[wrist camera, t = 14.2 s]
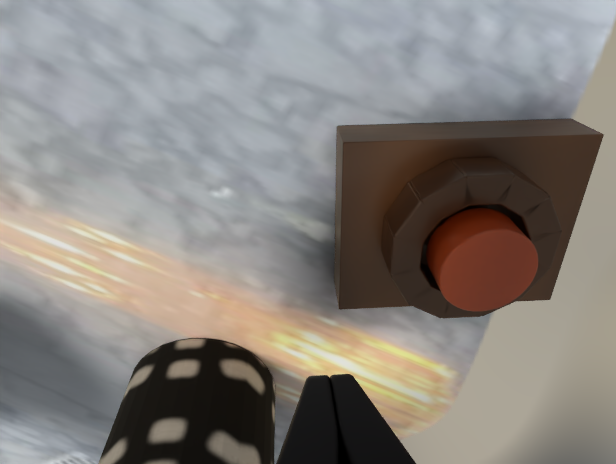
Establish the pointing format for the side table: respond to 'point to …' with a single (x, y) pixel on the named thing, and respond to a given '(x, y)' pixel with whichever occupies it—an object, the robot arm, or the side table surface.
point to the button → (481, 259)
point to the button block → (451, 200)
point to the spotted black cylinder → (195, 408)
